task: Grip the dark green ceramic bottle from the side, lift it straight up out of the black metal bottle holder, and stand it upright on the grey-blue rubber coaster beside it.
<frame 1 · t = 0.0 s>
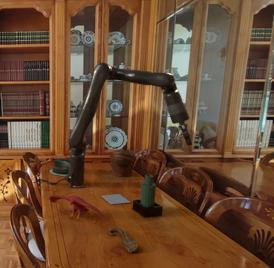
hand: (189, 143, 114), 31 cm above the table, tool tilted 20°, fingers open, 8 cm apart
bottle: (147, 194, 110), in the holder
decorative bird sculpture: (77, 217, 107), on the table
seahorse: (122, 241, 89), on the table
coaster: (115, 199, 126), on the table
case: (121, 174, 169), on the table
holder: (146, 212, 112), on the table
green hat: (62, 172, 174), on the table
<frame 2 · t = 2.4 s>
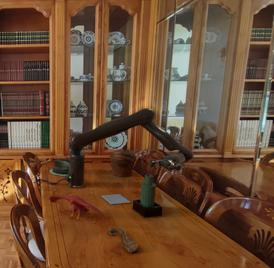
hand: (159, 167, 116), 20 cm above the table, tool horizontal, fingers open, 8 cm apart
nothing on the table moved.
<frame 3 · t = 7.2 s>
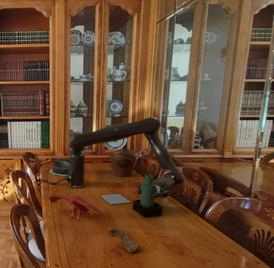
hand: (145, 194, 109), 10 cm above the table, tool horizontal, fingers closed on bottle, 6 cm apart
bottle: (147, 194, 110), in the holder, touching gripper
everything else where it was.
when the fingers open (10 cm above the table, at t = 15.4 s): bottle stays where it is, resting on coaster.
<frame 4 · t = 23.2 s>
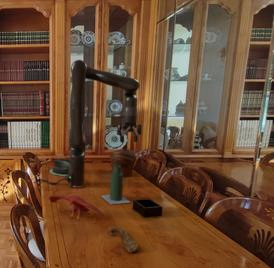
hand: (128, 142, 138), 28 cm above the table, tool pointing down, fingers open, 8 cm apart
bottle: (116, 182, 125), on the coaster
everything else where it was.
at the end: bottle inside the target area on the coaster (0.1 cm from its centre), point 9.4 cm above the coaster's base; bottle tilted 0°; bottle touching coaster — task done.
